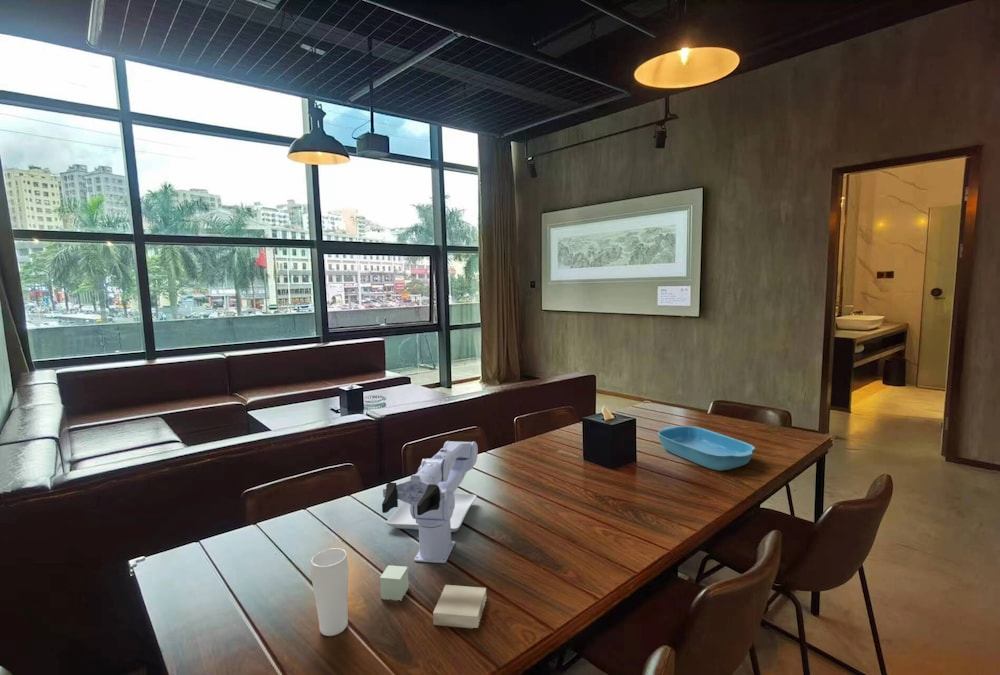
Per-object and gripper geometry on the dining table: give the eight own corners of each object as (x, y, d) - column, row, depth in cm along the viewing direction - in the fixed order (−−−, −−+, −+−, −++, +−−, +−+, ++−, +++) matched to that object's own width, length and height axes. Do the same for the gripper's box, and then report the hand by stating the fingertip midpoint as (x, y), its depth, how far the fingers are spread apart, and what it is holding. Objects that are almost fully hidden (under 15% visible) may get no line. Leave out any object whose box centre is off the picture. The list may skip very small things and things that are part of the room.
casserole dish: (768, 467, 170) (768, 447, 170) (724, 479, 161) (724, 459, 160) (687, 438, 204) (687, 422, 203) (646, 447, 194) (646, 430, 193)
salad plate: (458, 539, 128) (458, 527, 127) (384, 533, 132) (384, 521, 132) (478, 504, 148) (477, 493, 148) (413, 499, 153) (413, 489, 152)
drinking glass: (355, 615, 99) (351, 546, 97) (346, 639, 92) (341, 566, 90) (322, 617, 98) (317, 548, 97) (310, 641, 92) (305, 567, 90)
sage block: (389, 586, 108) (388, 565, 108) (408, 587, 107) (407, 566, 107) (381, 599, 104) (379, 577, 103) (401, 601, 103) (400, 579, 102)
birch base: (446, 597, 104) (445, 584, 104) (486, 600, 103) (486, 587, 102) (433, 626, 95) (432, 612, 95) (477, 630, 94) (477, 616, 94)
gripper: (393, 466, 114) (367, 488, 100) (452, 469, 111) (434, 492, 98) (394, 494, 114) (369, 521, 101) (452, 498, 112) (435, 525, 98)
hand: (401, 509), depth 99 cm, fingers open, 7 cm apart
